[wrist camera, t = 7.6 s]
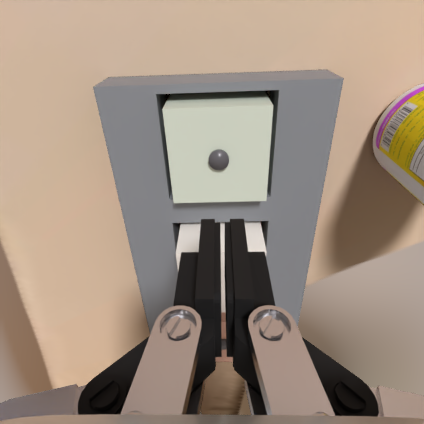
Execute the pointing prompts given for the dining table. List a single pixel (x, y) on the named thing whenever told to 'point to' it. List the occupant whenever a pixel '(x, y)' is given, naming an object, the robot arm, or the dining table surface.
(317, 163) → the grey flat board
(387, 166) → the supplement bottle
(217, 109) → the knob block
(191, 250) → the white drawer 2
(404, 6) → the dining table surface
